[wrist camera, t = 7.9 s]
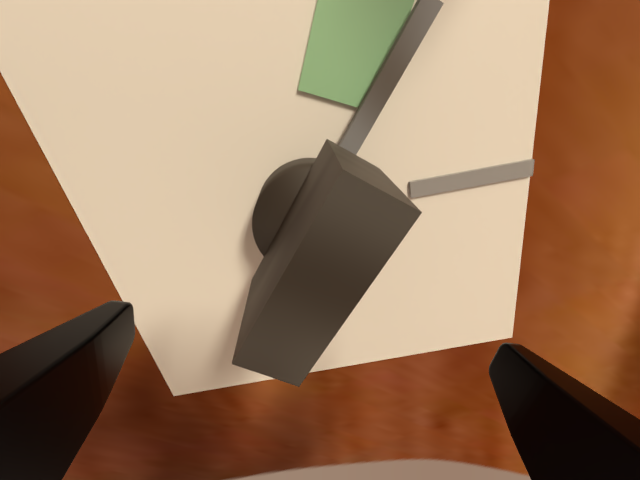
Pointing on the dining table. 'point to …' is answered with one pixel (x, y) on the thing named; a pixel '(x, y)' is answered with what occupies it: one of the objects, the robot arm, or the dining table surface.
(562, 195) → the dining table surface
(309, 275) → the dark grey angled piece
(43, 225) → the dining table surface
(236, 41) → the dial plate
